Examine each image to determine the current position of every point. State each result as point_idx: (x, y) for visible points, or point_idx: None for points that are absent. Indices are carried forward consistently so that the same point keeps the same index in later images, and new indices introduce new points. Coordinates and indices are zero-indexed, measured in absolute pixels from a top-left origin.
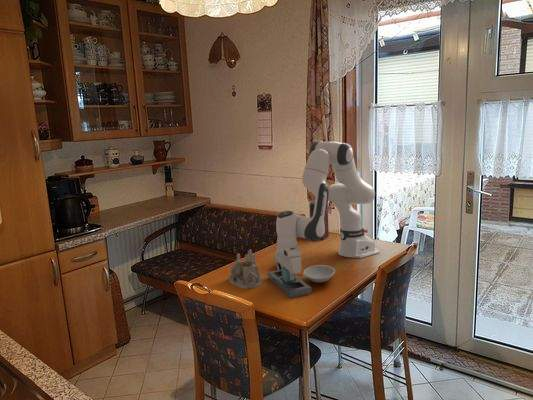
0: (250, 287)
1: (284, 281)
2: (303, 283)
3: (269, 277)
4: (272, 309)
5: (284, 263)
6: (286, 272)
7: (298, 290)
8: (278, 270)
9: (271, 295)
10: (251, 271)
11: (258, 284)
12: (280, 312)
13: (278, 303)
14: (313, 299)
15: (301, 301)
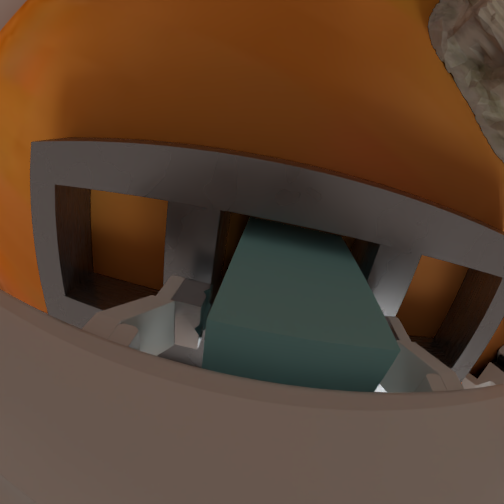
0: (438, 3)
1: (289, 242)
2: None
3: (495, 228)
4: (43, 3)
5: (280, 478)
6: (210, 314)
7: (35, 216)
8: (490, 333)
9: (191, 27)
10: None
11: (456, 69)
12: (8, 37)
13: (62, 41)
14: (23, 249)
15: (21, 180)
